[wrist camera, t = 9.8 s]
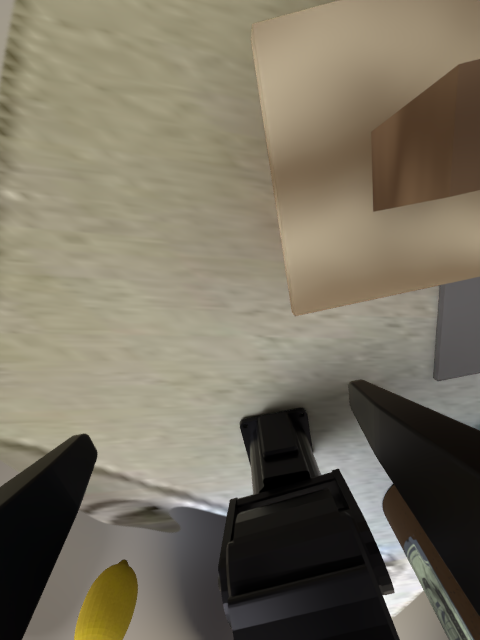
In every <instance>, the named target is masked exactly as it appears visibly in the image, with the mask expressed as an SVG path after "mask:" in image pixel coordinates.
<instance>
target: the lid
mask: <svg viewBox="0 0 480 640" xmlns="http://www.w3.org/2000/svg"><path fill="white" fill-rule="evenodd" d="M251 43H252V50H253V56H254V63H255V70H256V76H257V83H258V90H259V96H260V103H261V110H262V116H263V123H264V129H265V136H266V143H267V149H268V156H269V163H270V169H271V176H272V183H273V189H274V196H275V202H276V209H277V216H278V222H279V229H280V236H281V242H282V249H283V256H284V262H285V269H286V276H287V282H288V289H289V295H290V302H291V309H292V313H293V314H294V315H295V316H298V315H303V314H308V313H312V312H317V311H322V310H326V309H331V308H336V307H340V306H345V305H350V304H354V303H359V302H364V301H368V300H373V299H377V298H382V297H387V296H391V295H396V294H401V293H405V292H410V291H415V290H419V289H424V288H429V287H433V286H438V285H443V284H447V283H452V282H457V281H461V280H466V279H471V278H475V277H480V0H338V1H334V2H331V3H327V4H323V5H320V6H316V7H312V8H309V9H305V10H301V11H297V12H294V13H290V14H286V15H283V16H279V17H275V18H271V19H268V20H264V21H260V22H257V23H253V24H252V33H251Z"/></svg>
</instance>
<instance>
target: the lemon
mask: <svg viewBox="0 0 480 640" xmlns="http://www.w3.org/2000/svg"><path fill="white" fill-rule="evenodd" d="M137 593H138V584H137V578H136V574H135V572H134V571H133V569H132V568H131V567H129V565H128V562H127V561H126V560H122V561H121V562H119V563H118V564H116V565H112V566H111V567H109V568H107V569H106V570H105V571H103V572H102V573H101V574H100V575H99V577H98V578H97V579H96V580H95V582H94V583H93V584H92V586H91V588H90V590H89V591H88V594H87V596H86V598H85V600H84V602H83V606H82V608H81V610H80V614H79V617H78V621H77V625H76V630H75V636H74V640H123V638H124V636H125V634H126V631H127V629H128V627H129V624H130V622H131V619H132V616H133V612H134V609H135V605H136V600H137Z"/></svg>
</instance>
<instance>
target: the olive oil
mask: <svg viewBox="0 0 480 640" xmlns="http://www.w3.org/2000/svg"><path fill="white" fill-rule="evenodd" d="M383 511H384V514H385V516H386V518H387V520H388V522H389V524H390V526H391V528H392V529H393V531H394V533H395V535H396V537H397V539H398V541H399V543H400V545H401V547H402V548H403V550H404V553H405V555H406V557H407V558H408V560H409V562H410V564H411V566H412V568H413V570H414V572H415V574H416V576H417V578H418V580H419V582H420V584H421V586H422V588H423V590H424V592H425V593H426V595H427V597H428V599H429V601H430V603H431V605H432V607H433V609H434V611H435V613H436V615H437V617H438V619H439V621H440V623H441V625H442V627H443V629H444V631H445V633H446V635H447V637H448V638H449V640H480V617H479V615H478V614H477V612H476V610H475V609H474V607H473V606H472V604H471V603H470V601H469V600H468V598H467V597H466V595H465V593H464V592H463V590H462V589H461V587H460V586H459V584H458V583H457V581H456V580H455V578H454V576H453V575H452V573H451V572H450V570H449V569H448V567H447V566H446V564H445V563H444V561H443V559H442V558H441V556H440V555H439V553H438V552H437V550H436V549H435V547H434V546H433V544H432V542H431V541H430V539H429V538H428V536H427V535H426V533H425V532H424V530H423V528H422V527H421V525H420V524H419V522H418V521H417V519H416V518H415V516H414V515H413V513H412V511H411V510H410V508H409V507H408V505H407V504H406V502H405V501H404V499H403V498H402V496H401V494H400V493H399V491H398V490H397V488H396V487H395V485H393V486H392V487H391V488H390V489H389V490H388V492H387V493H386V495H385V497H384V500H383Z"/></svg>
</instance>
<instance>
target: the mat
mask: <svg viewBox="0 0 480 640" xmlns="http://www.w3.org/2000/svg"><path fill="white" fill-rule="evenodd" d="M477 373H480V277H475V278H471V279H466V280H461V281H457V282H452V283H447V284H443V285H440V291H439V305H438V319H437V334H436V348H435V362H434V377H433V378H434V379H435V380H437V381H441V380H446V379H451V378H457V377H462V376H467V375H472V374H477Z"/></svg>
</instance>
